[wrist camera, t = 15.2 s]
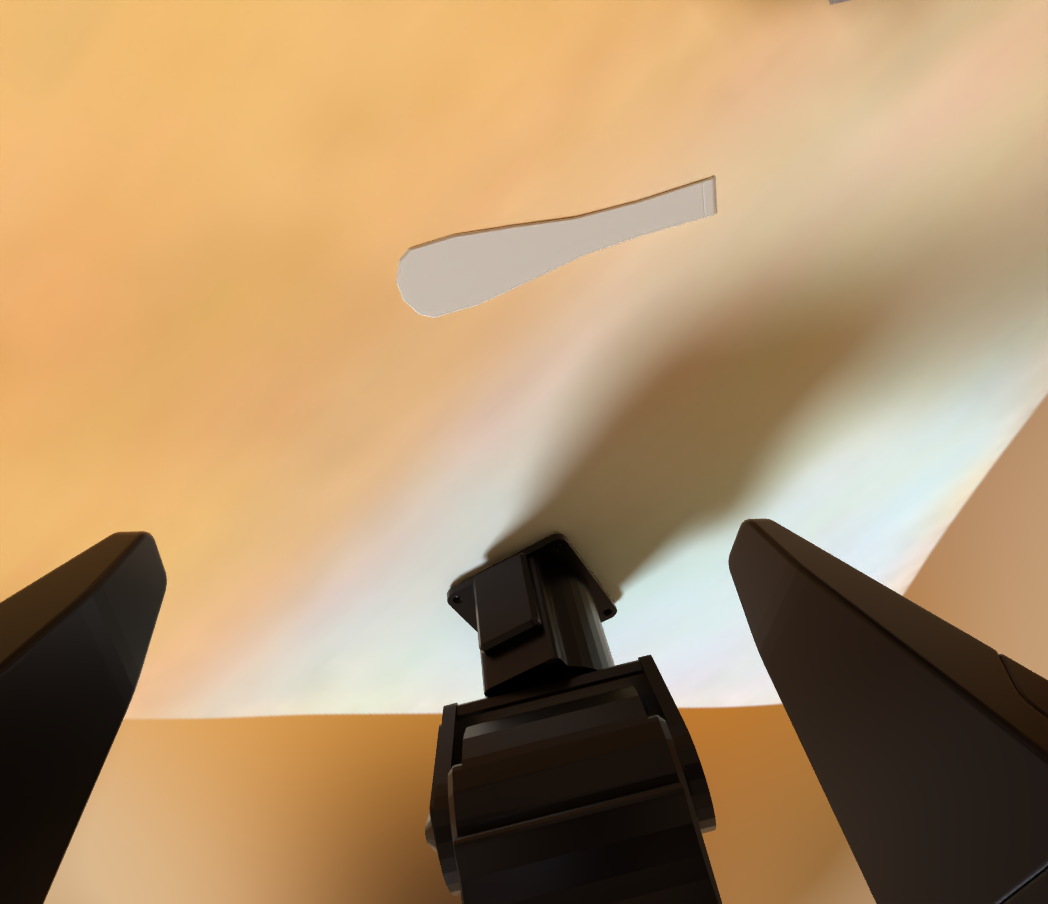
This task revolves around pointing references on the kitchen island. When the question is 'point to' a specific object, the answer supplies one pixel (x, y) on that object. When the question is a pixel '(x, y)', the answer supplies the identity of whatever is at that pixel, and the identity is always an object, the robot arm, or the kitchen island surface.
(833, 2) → the charcoal tray
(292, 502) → the kitchen island surface
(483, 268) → the butter knife
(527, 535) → the kitchen island surface
